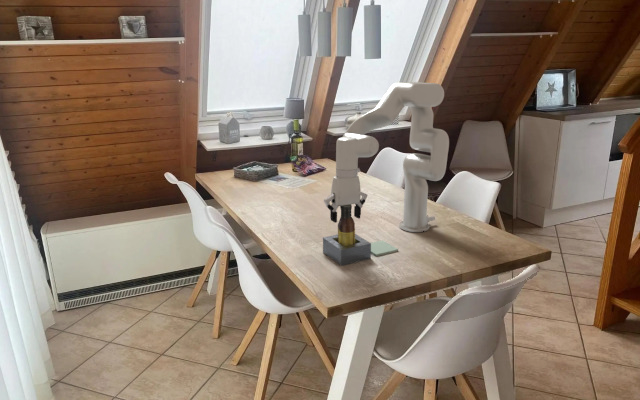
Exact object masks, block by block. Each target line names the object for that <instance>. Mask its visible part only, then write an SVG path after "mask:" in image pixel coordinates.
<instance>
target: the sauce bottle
mask: <svg viewBox="0 0 640 400" xmlns="http://www.w3.org/2000/svg"><path fill="white" fill-rule="evenodd" d="M339 207H340V216H339V217H340V218H339V221H338V223H337V234H338V243H340V244H341V245H343V246H347V245H352V244H355V234H356V227H355V220H354V218H353V217H352V209H353V208H352V207H353V204H351V205H345V206H339Z"/></svg>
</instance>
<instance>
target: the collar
mask: <svg viewBox="0 0 640 400" xmlns="http://www.w3.org/2000/svg"><path fill="white" fill-rule="evenodd" d="M371 243H372V242H370V241H368V240H366V239H364V238H363V237H361V236H359V235H358V234H356V233H355V244H352V245H347V246H343V245H341V244H340V243H338V233H337V234H333V235H328V236H324V237H322V253H323V254H325V255H326V256H327V257H328V258H330V259H331V260H332V261H334V262H335V263H336V264H338V265H339V266H341V267H342V266H346V265H351V264H354V263H358V262H364V261H366V260H367V261H368V260H371V259H372V258H371V257H372V256H371V255H372V254H371Z"/></svg>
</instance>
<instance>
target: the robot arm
mask: <svg viewBox="0 0 640 400" xmlns="http://www.w3.org/2000/svg"><path fill="white" fill-rule="evenodd" d="M444 98H445V91H444V88H443V86H442V85H441V84H439V83H436V82H435V83H434V82H421V81H420V82H419V81H410V82H409V81H408V82H406V81H403V82H402V81H398V82H393V83H392V84H391V85H390V87H388V89H387V91H386V92H385V93H384V94H383V95H382V97H381V99H380V100H379V101H378V103H377V104H376V106H375V107H374V108H373V109H371V110H370V111H368V112H366V113H365V114H362V115H361V116H360V117H358V118H357V119H355V120H354V121H353V122H351V123H350V125H349V126H348V128H347V129H346V130H345V132H344V134H343V135H342V137H339V138H337V140H336V144H335V145H336V147H335V151H336V152H335V176H333V178H332V183H331V187H330V188H331V189H330V195H329V196H327V197H326V198H324V199H323V202H324V203H323V204H324V205H325V207H326V208H327V209H328V210H329V211H330V213H329V214H330V215H329V216H330V218H329V219H330V221H331V222H333V223H337V222H338V212H337V210H338V208H339V207H340V206H345V205H354V207H353V217H355V218H357V219H359V220H360V219H361V215H362V208H363V205H364V204H365V203H366V200H367V197H368V194H367V193H366V192H365V193H364V192H363V191H361V182H360V177H359V176H358V174H359V173H361V169H360V167H359V166H358V165H359V164H358V163H359V161H358V160H359V158H371V157H373V156H374V155H376V154H377V153H378V151H379V148H380V147H379V146H380V144H379V141H378V139H376V138H375V136H374V137H373V136H372V135H371V136H370V135H366V134H367V133H369V132H371V131H374V130H377V129H382V128H384V127H385V128H386V127H387V126H391V125H392V124H393V123H394V122H395V120H396V119H397V117H398V116H399V114H400V113H401V112H402V110H403V109H404V108H405V107H408V108H409V110H410V113H411V121H410V132H409V146H410V147H411V149H412V150H416V151H419V152H424V153H425V152H426V153H430V155H428V154H424V153H418V152H417V153H415V152H414V153H409V154H407V155H406V156H405V157H404V159H403V161H402V170H403V176H404V191H403V192H404V197H403V214H402V217H403V218H402V221H401V222H400V223H399V228H400V229H401V230H403V231H406V232H408V233H409V232H410V233H422V232H423V231H424V232H426V231H429V230H430V229H431V228H430V227H431V226H430V222H433V221H435V220H436V216H434V215H430V216H429V215H427V213H428V212H427V211H428V196H429V195H428V194H429V185H428V182H427V180H429V181H433V182H437V181H441V180H442V179H443V177H444V176H445V174H446V170H447V162H448V154H449V148H450V138H449V135H448V133H447V132H446V131H445V130H444V129H441V128H435V127H434V126H433V125H434V111H433V109H432V108H434V107H437V106H439V105H441V104H442V102H443V100H444Z"/></svg>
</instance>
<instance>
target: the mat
mask: <svg viewBox="0 0 640 400" xmlns="http://www.w3.org/2000/svg"><path fill="white" fill-rule="evenodd" d="M370 243H371V255H373V256H374V257H379V256H383V255H387V254H391V253H396V252H399V248H397V247H395V246H393V244H390V243H389V242H387V241H385V240H383V239H382V240H378V241H374V242H370Z"/></svg>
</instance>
